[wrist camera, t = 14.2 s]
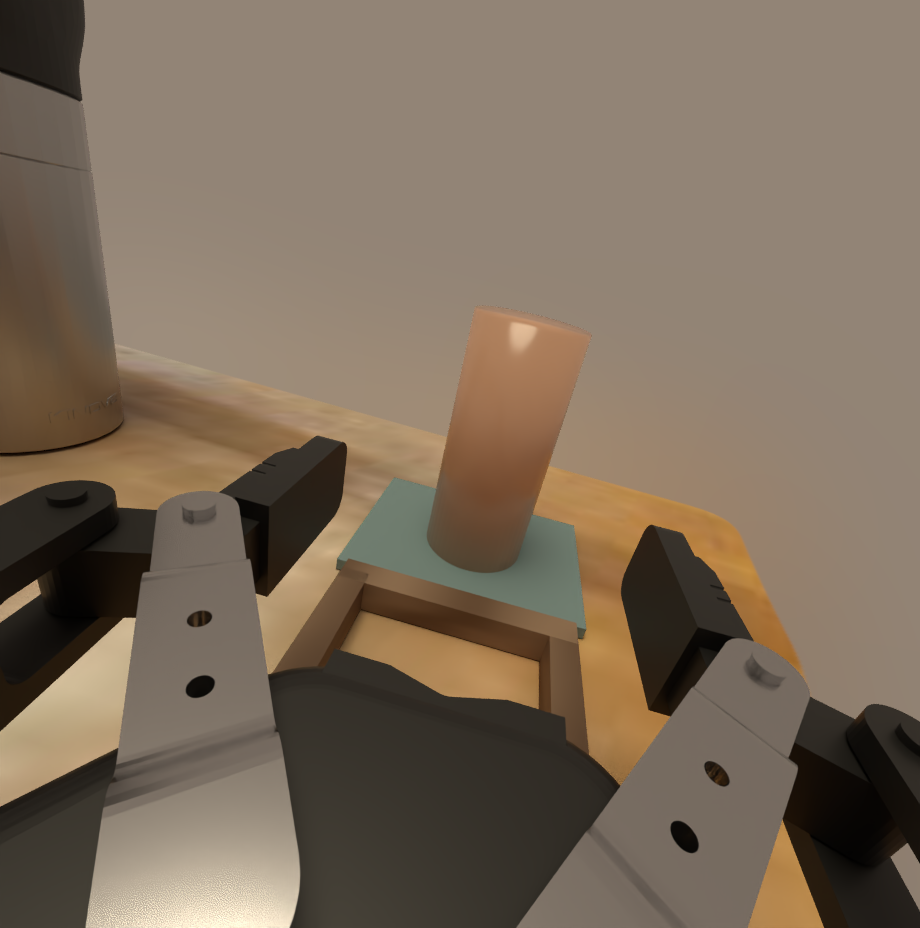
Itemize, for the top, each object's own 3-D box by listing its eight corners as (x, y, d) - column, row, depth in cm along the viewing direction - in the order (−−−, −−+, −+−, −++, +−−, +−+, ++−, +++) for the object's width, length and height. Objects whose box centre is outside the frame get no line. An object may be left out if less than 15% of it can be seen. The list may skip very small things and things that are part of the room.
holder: (197, 822, 12) (194, 790, 11) (345, 583, 21) (348, 558, 20) (584, 951, 11) (604, 924, 10) (565, 647, 20) (576, 623, 19)
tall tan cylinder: (415, 555, 22) (466, 312, 17) (437, 505, 27) (482, 301, 22) (516, 584, 22) (598, 344, 17) (520, 528, 27) (586, 326, 22)
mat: (336, 568, 21) (337, 558, 21) (392, 485, 29) (394, 477, 29) (582, 638, 21) (586, 629, 20) (571, 533, 29) (573, 525, 28)
